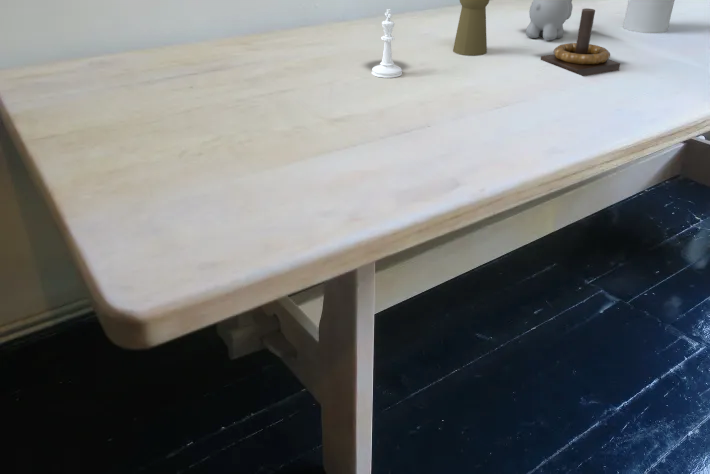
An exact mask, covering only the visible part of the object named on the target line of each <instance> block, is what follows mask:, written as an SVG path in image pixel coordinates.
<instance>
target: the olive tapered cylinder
mask: <svg viewBox="0 0 710 474" xmlns="http://www.w3.org/2000/svg"><path fill="white" fill-rule="evenodd" d="M459 3H460V5H461V9H460V14H459V18H458V23H457V29H456V33H455V38H454V42H453V47H452V51H453V53H455V54H457V55H462V56H481V55H485V54H487V52H488V43H487V42H488V41H487V9H486V8H487V6H488V5H489V3H490V0H459Z"/></svg>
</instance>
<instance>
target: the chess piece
mask: <svg viewBox="0 0 710 474" xmlns="http://www.w3.org/2000/svg"><path fill="white" fill-rule="evenodd" d="M384 16H385V17H386V19H385V20H382V21H381V26H382V29H383V33H384V35H382V36H381V37H380V39H381V40H382V41H384V43H383V44H384V45H383V53H382V59H381V62H379V64H377V65H374V66H373V67H372V68H371V75H372V76H374V77H377V78H382V79H391V78H397V77H400V76H402V75H403V72H402V71H403V70H402V67H400V66H398V65H396V64H395V62H394V61H393V54H392V53H393V52H392V41H394V40H395V36H393V35H392V33H393V31H394V30H393V29H394V28H395V25H396V22H395V21H393V20H391V19H392V18H393V13H391V9H390V8H386V12H384Z"/></svg>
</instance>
